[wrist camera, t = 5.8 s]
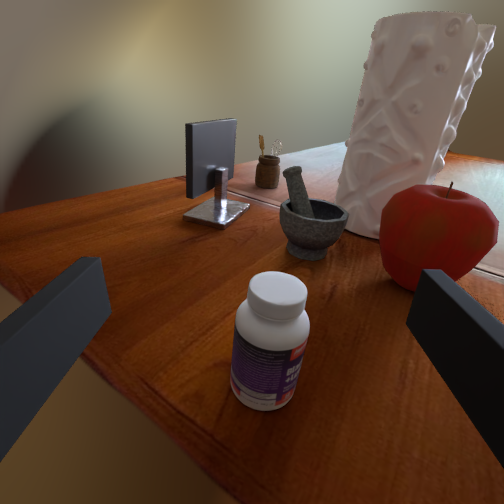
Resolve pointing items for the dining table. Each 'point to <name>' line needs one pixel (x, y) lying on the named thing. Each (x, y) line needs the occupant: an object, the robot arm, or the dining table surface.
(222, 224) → the monitor stand
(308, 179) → the dining table surface
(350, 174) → the vase
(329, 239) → the mortar and pestle
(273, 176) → the utensil holder
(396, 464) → the dining table surface
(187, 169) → the monitor screen
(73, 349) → the robot arm
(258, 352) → the pill bottle
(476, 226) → the apple
